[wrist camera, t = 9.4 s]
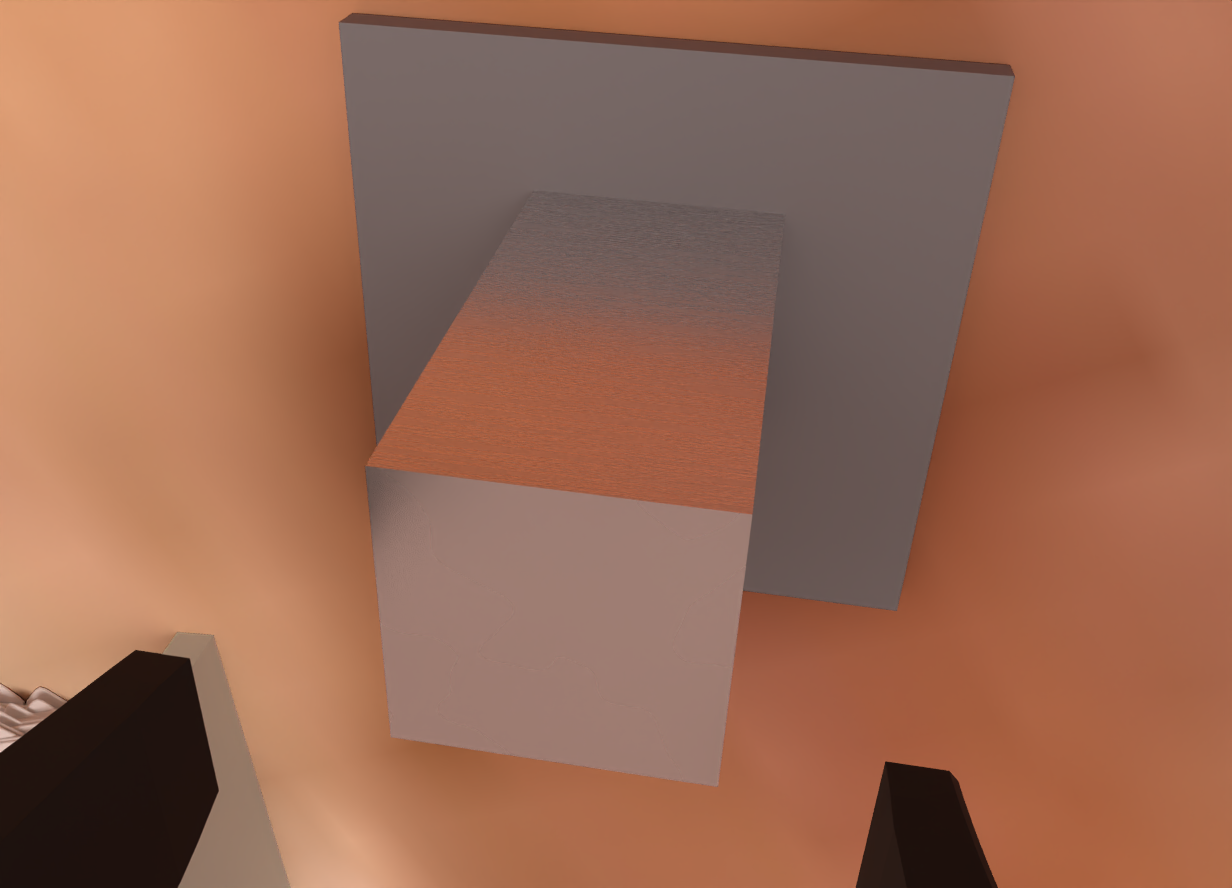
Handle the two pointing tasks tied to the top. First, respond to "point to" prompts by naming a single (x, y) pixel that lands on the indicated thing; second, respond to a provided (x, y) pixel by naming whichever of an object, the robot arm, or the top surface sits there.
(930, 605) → the top surface
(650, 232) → the steel peg
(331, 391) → the top surface
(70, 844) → the robot arm
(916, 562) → the top surface
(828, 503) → the rubber mat
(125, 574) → the top surface
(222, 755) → the l-shaped corner panel
